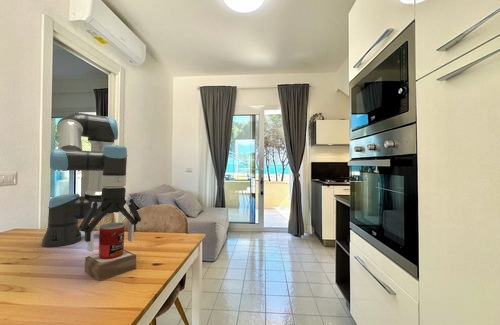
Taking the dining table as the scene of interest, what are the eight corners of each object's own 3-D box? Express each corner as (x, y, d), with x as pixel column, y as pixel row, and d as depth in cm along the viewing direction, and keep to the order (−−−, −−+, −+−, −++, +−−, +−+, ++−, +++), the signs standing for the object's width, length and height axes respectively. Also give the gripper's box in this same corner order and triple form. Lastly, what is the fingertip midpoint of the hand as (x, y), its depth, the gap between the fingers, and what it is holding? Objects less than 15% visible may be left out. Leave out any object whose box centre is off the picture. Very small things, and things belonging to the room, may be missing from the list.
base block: (84, 271, 80) (85, 256, 81) (120, 260, 90) (120, 247, 90) (99, 281, 73) (100, 265, 74) (135, 268, 83) (136, 254, 83)
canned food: (112, 260, 77) (113, 228, 78) (92, 258, 79) (94, 226, 80) (128, 252, 85) (129, 223, 85) (110, 250, 87) (111, 221, 87)
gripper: (77, 189, 71) (74, 258, 70) (151, 186, 91) (149, 239, 90) (68, 188, 75) (65, 253, 74) (141, 185, 95) (139, 236, 94)
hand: (111, 245), depth 82 cm, fingers open, 13 cm apart
